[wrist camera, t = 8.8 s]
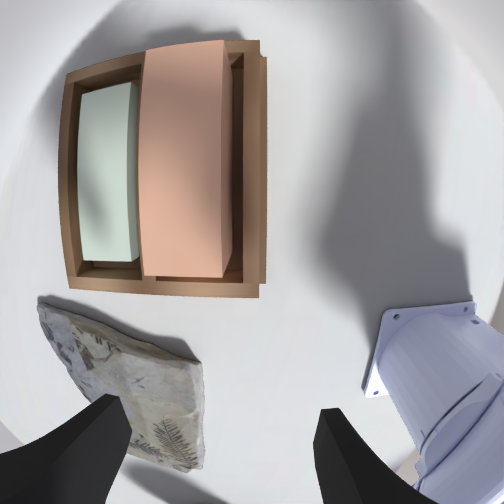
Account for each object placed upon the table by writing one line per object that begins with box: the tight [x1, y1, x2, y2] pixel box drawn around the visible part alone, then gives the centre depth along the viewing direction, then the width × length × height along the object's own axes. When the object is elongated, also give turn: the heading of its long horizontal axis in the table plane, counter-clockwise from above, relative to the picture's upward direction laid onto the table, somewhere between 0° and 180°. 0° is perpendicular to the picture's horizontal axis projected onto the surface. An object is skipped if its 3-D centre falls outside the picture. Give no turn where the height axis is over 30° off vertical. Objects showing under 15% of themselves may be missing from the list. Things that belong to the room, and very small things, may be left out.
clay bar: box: [138, 40, 234, 278], centre depth 13 cm, size 3×10×5 cm, turn 0°
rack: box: [58, 40, 267, 298], centre depth 14 cm, size 13×14×3 cm
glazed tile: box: [77, 82, 140, 262], centre depth 14 cm, size 3×10×2 cm, turn 0°
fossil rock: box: [37, 303, 205, 473], centre depth 20 cm, size 18×15×2 cm
